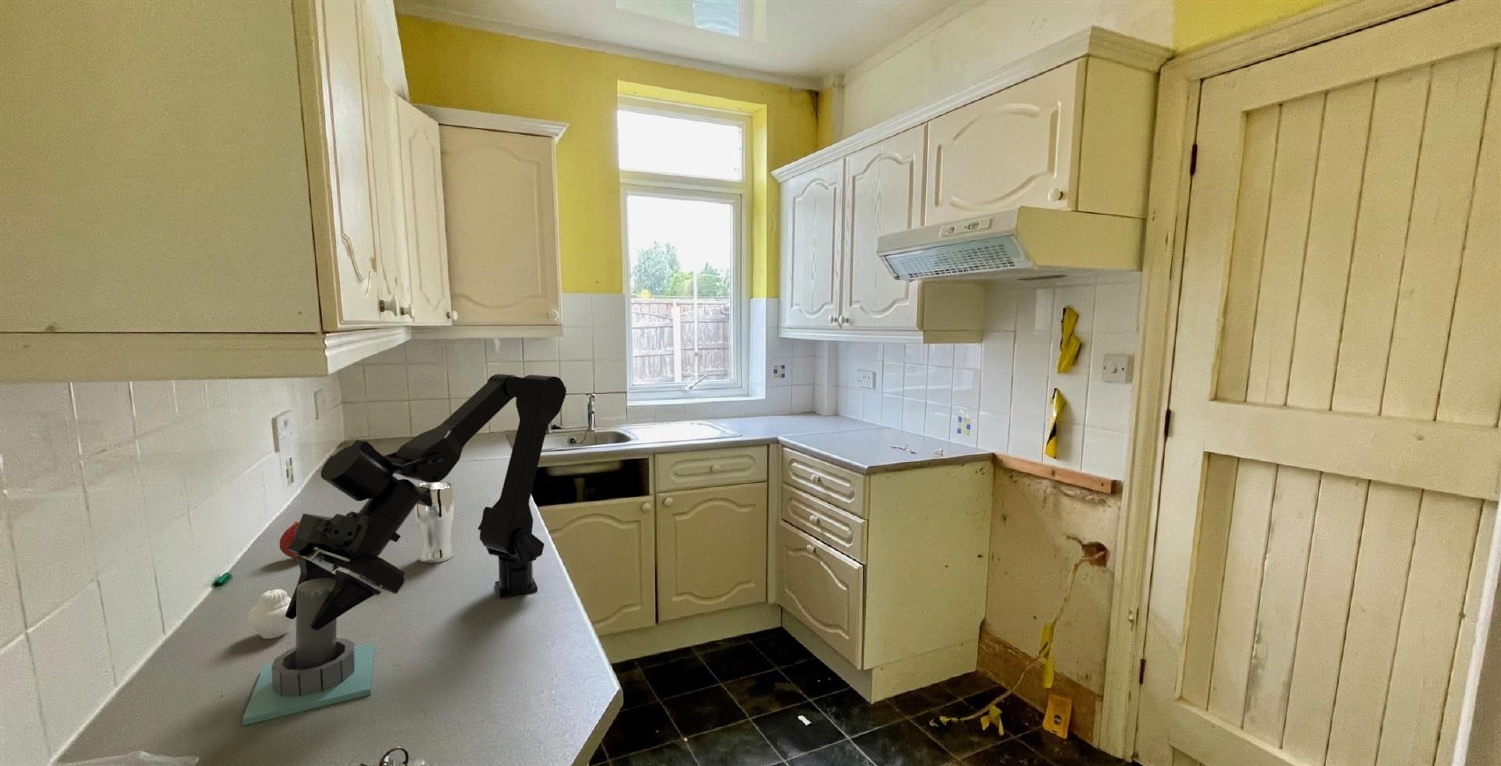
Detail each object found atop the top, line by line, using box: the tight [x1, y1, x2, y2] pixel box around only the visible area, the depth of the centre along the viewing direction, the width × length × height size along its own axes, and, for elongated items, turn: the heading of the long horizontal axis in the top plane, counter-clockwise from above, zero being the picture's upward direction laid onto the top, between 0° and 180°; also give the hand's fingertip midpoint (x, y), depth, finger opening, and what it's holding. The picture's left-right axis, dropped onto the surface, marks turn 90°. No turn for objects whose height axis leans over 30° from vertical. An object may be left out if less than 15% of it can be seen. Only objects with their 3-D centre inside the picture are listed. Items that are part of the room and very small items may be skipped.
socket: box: [242, 637, 376, 726], centre depth 82 cm, size 13×13×4 cm
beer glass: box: [414, 480, 455, 564], centre depth 124 cm, size 7×7×15 cm
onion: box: [279, 520, 301, 560], centre depth 122 cm, size 6×6×8 cm
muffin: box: [247, 588, 296, 640], centre depth 94 cm, size 6×6×7 cm
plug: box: [295, 578, 338, 670], centre depth 81 cm, size 4×4×12 cm
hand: (300, 623), depth 80 cm, fingers open, 6 cm apart
